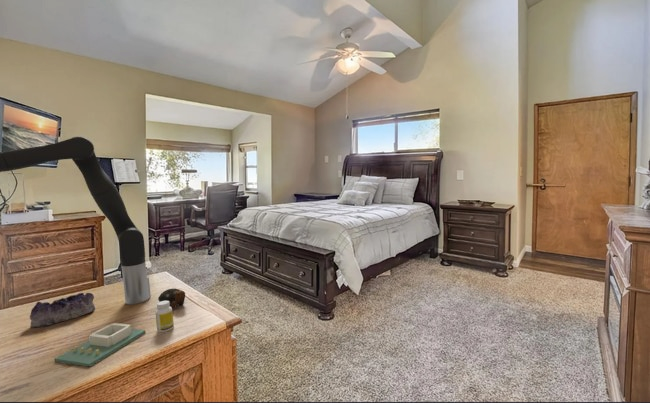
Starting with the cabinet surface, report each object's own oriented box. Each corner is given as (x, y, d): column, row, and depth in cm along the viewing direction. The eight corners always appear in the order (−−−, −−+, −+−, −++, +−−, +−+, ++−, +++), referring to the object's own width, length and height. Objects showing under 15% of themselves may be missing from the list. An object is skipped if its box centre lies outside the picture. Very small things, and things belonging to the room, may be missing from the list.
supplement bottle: (177, 326, 115) (174, 300, 114) (165, 333, 110) (162, 306, 109) (165, 324, 117) (163, 299, 116) (153, 331, 112) (150, 305, 111)
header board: (114, 329, 115) (113, 319, 114) (145, 332, 111) (144, 322, 110) (55, 361, 95) (53, 349, 95) (89, 367, 92) (88, 354, 91)
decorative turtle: (178, 313, 126) (175, 294, 125) (151, 312, 131) (147, 294, 130) (195, 302, 135) (192, 285, 134) (169, 301, 140) (166, 284, 139)
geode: (35, 333, 115) (29, 307, 115) (28, 329, 122) (23, 304, 122) (99, 310, 131) (94, 287, 131) (90, 308, 138) (85, 286, 138)
